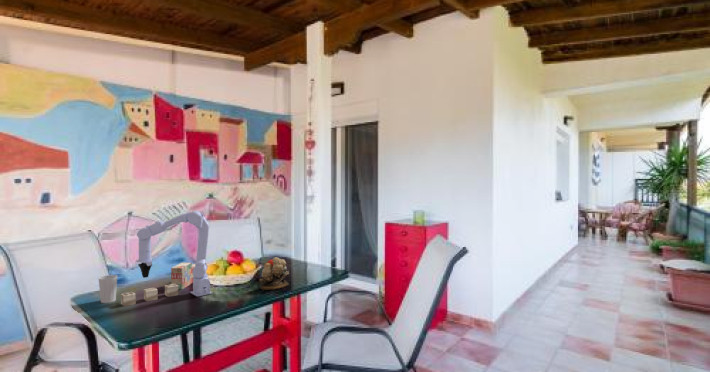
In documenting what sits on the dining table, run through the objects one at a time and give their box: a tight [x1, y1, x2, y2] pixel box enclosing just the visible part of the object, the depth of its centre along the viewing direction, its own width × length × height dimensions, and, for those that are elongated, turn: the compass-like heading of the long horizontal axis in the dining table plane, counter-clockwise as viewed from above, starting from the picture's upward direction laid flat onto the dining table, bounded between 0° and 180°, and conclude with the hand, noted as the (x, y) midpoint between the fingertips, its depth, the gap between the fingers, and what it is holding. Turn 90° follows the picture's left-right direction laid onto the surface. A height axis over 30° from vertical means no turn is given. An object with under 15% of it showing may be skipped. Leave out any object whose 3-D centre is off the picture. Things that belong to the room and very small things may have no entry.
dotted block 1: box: [120, 291, 137, 307], centre depth 182 cm, size 5×5×5 cm
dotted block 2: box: [164, 283, 179, 298], centre depth 196 cm, size 5×5×5 cm
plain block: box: [143, 287, 159, 302], centre depth 189 cm, size 5×5×5 cm
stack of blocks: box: [170, 262, 196, 290], centre depth 216 cm, size 21×6×12 cm, turn 0°
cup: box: [98, 274, 118, 304], centre depth 186 cm, size 8×8×12 cm
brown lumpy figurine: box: [259, 256, 290, 291], centre depth 211 cm, size 18×12×17 cm, turn 134°
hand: (145, 277), depth 192 cm, fingers closed
